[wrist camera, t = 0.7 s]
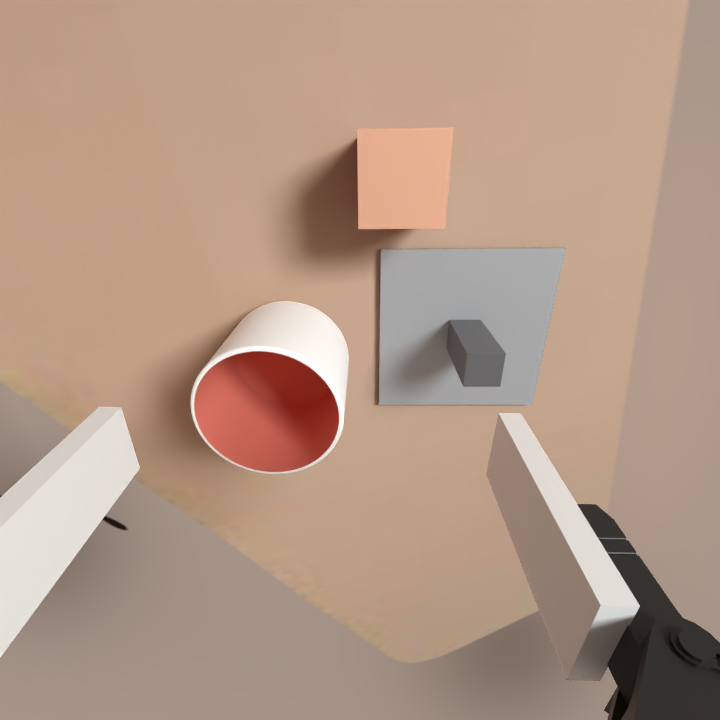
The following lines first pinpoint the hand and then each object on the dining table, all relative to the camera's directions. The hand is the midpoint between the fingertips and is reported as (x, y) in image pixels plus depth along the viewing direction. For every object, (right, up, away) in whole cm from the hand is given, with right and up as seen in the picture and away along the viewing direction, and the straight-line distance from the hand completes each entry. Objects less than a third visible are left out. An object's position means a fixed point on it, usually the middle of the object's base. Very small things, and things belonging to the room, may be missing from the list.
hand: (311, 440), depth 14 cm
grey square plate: (+10, +5, +20) cm, 23 cm away
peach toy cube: (+4, +16, +14) cm, 22 cm away
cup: (-4, +4, +21) cm, 22 cm away
